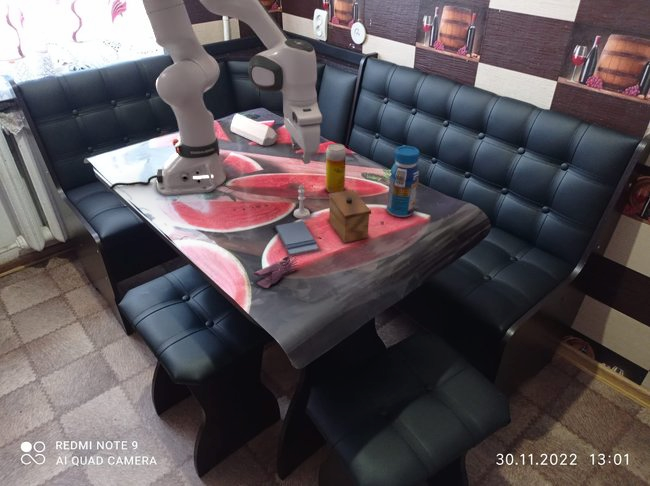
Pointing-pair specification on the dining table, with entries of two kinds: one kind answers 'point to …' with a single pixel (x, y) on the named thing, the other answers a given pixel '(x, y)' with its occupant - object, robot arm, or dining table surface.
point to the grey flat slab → (296, 238)
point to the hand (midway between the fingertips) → (300, 155)
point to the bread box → (349, 215)
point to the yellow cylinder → (335, 167)
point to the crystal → (253, 130)
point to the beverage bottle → (403, 182)
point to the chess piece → (301, 205)
